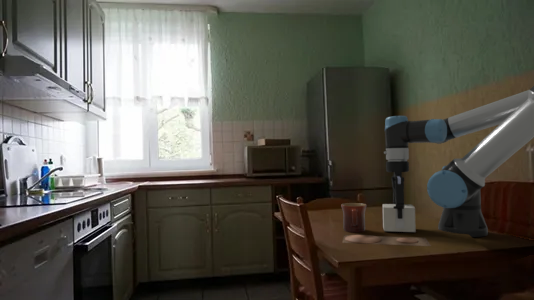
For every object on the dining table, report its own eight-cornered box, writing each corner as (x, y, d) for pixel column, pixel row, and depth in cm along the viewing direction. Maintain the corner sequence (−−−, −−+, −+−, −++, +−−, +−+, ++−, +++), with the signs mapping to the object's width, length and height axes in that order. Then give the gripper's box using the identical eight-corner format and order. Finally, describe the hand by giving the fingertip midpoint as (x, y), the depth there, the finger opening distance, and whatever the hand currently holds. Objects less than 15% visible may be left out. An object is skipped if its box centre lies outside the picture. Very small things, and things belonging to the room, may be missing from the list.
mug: (341, 231, 135) (341, 203, 136) (366, 231, 134) (365, 203, 134) (341, 238, 124) (340, 207, 124) (368, 238, 122) (367, 207, 122)
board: (425, 241, 116) (425, 236, 116) (431, 250, 105) (431, 245, 105) (344, 238, 123) (344, 234, 123) (342, 246, 112) (342, 241, 112)
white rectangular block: (412, 227, 132) (411, 204, 132) (415, 232, 123) (414, 207, 123) (383, 226, 134) (382, 204, 134) (384, 231, 126) (383, 207, 126)
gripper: (384, 160, 141) (386, 219, 140) (387, 161, 120) (389, 231, 119) (405, 160, 139) (407, 220, 138) (412, 160, 118) (414, 232, 117)
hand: (398, 225), depth 129 cm, fingers closed on white rectangular block, 9 cm apart
